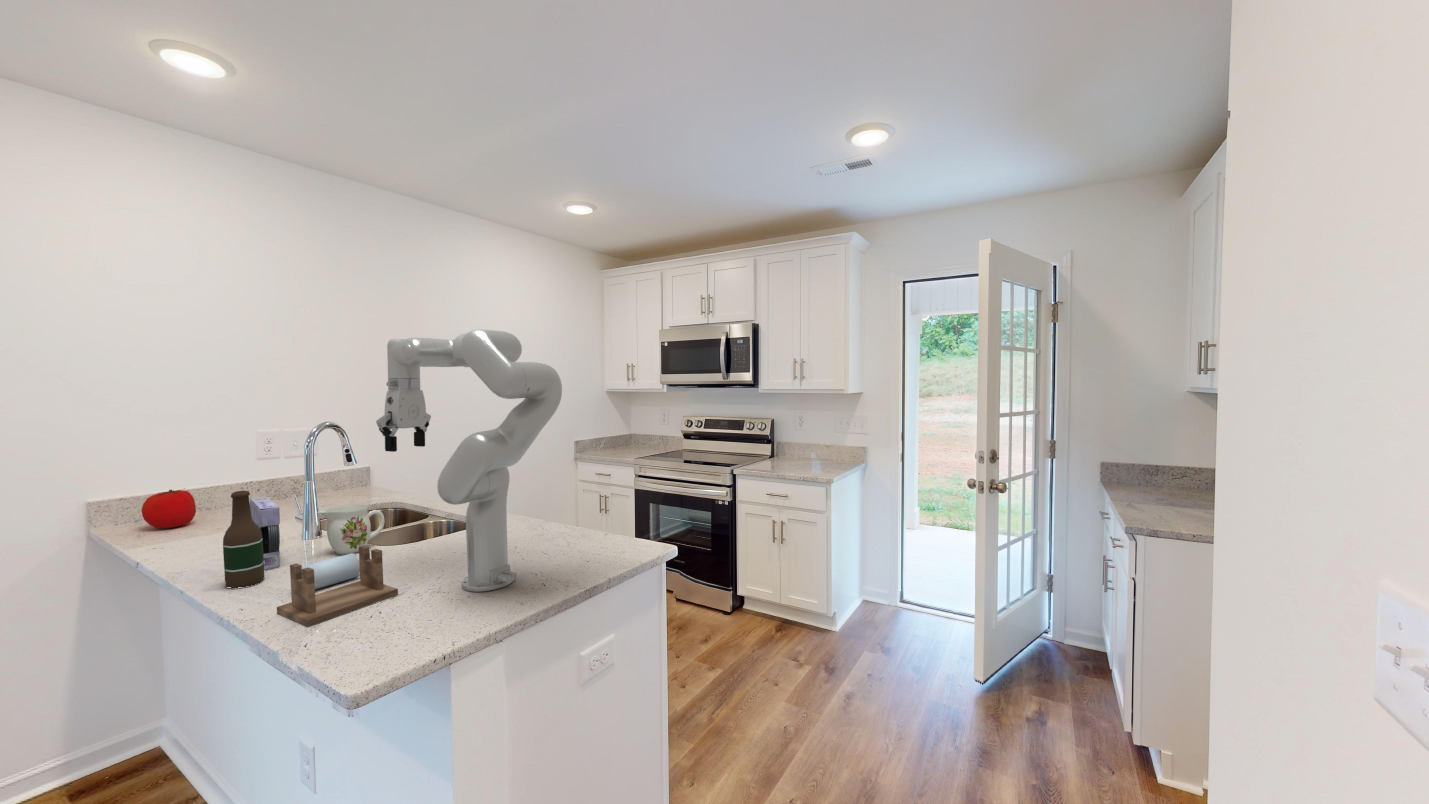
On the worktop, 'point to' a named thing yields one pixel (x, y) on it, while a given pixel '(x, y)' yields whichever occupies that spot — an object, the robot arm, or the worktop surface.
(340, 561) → the kitchen roll
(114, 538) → the worktop surface
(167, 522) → the tomato
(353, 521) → the pitcher
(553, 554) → the worktop surface
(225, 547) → the beer bottle
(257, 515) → the cake pan box
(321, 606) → the roll holder
